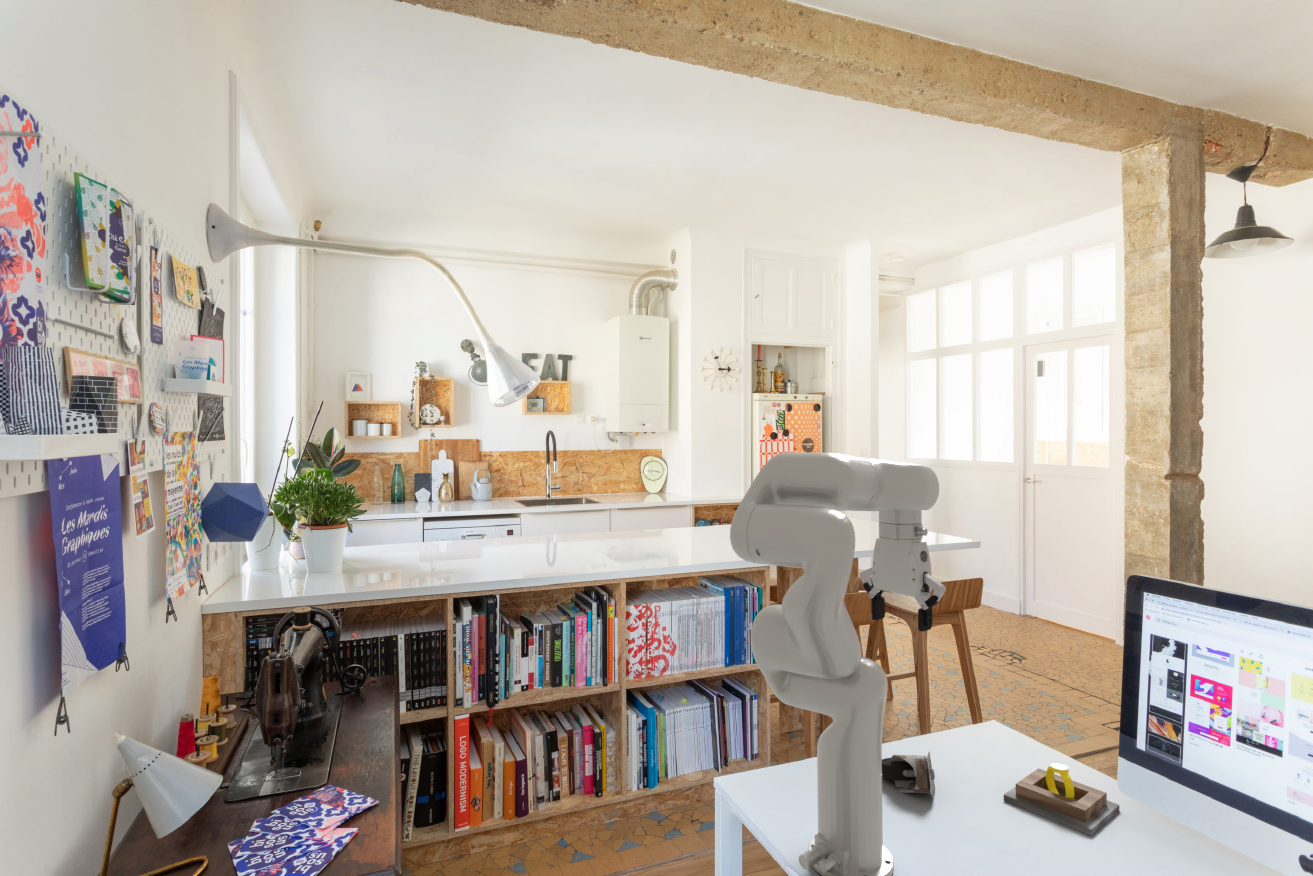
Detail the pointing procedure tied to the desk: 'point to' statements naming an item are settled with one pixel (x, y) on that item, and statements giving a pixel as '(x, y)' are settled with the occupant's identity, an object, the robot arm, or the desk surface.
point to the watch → (1065, 776)
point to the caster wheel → (910, 773)
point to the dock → (1063, 802)
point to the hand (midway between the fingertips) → (900, 624)
